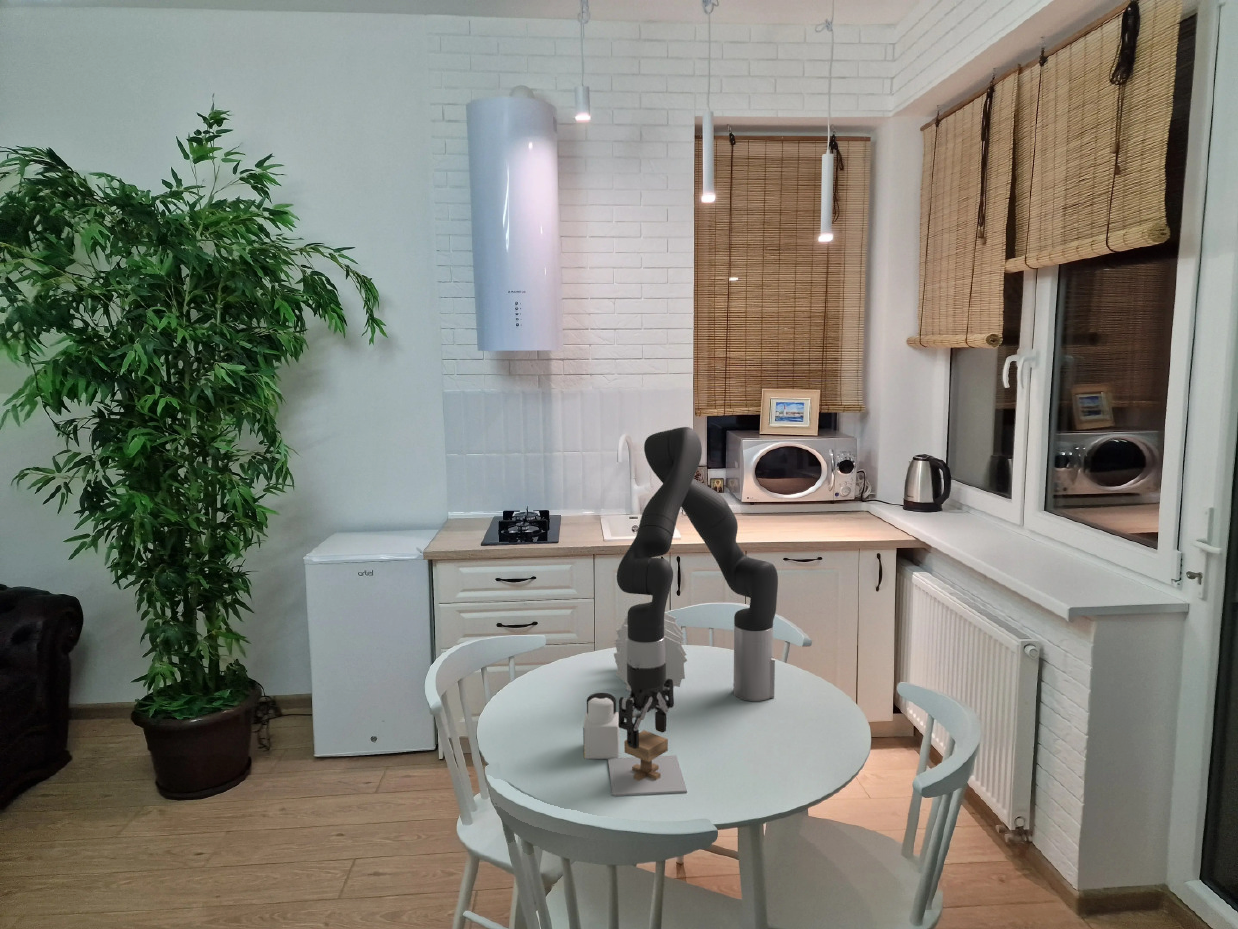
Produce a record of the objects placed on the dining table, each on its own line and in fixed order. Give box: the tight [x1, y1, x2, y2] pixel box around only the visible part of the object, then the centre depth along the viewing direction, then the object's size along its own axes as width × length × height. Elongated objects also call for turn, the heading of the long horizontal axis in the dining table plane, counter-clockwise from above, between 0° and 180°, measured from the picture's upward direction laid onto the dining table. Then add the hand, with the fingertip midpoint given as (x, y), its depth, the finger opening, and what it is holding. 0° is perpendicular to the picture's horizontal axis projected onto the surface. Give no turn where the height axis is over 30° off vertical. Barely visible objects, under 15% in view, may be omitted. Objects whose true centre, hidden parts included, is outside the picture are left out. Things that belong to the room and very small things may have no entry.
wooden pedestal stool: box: [623, 730, 669, 781], centre depth 163 cm, size 6×6×7 cm
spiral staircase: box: [613, 613, 688, 692], centre depth 208 cm, size 18×18×25 cm
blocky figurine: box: [582, 692, 621, 760], centre depth 173 cm, size 7×7×12 cm
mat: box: [607, 754, 688, 797], centre depth 163 cm, size 14×14×1 cm
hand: (647, 739), depth 162 cm, fingers open, 8 cm apart
